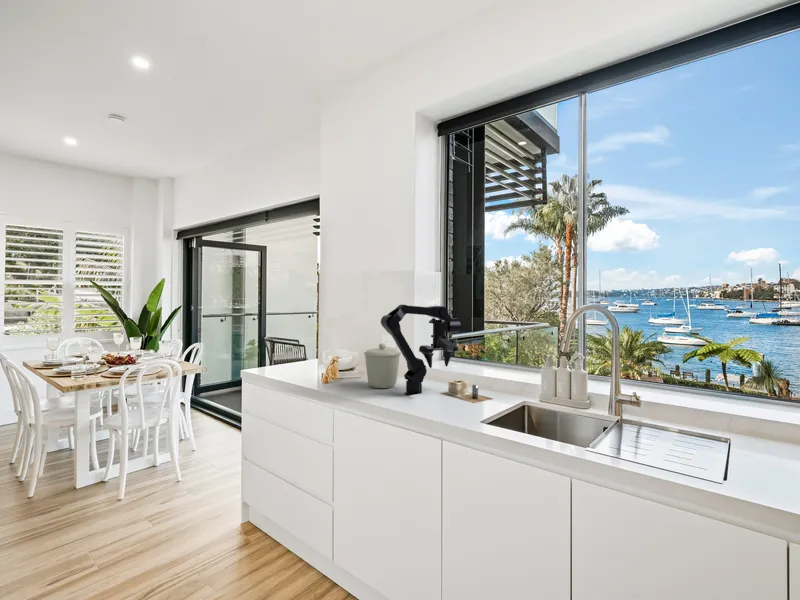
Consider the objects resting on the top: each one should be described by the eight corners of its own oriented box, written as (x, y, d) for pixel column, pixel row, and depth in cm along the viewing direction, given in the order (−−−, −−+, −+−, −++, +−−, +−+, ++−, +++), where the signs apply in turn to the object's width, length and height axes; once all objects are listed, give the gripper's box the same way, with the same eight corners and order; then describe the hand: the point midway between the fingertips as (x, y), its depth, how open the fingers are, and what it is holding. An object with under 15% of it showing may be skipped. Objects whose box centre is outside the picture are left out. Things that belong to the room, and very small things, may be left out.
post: (475, 399, 175) (475, 386, 175) (471, 398, 177) (471, 385, 177) (479, 398, 176) (479, 385, 176) (475, 397, 178) (475, 384, 178)
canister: (388, 392, 193) (388, 346, 193) (356, 387, 202) (356, 343, 202) (407, 385, 209) (407, 342, 208) (376, 381, 218) (376, 340, 217)
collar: (458, 395, 180) (458, 383, 180) (448, 392, 185) (448, 381, 185) (467, 393, 184) (468, 382, 184) (458, 390, 189) (458, 379, 189)
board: (473, 406, 169) (474, 402, 169) (440, 396, 185) (440, 392, 185) (493, 402, 176) (494, 398, 176) (459, 393, 192) (459, 389, 192)
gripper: (433, 335, 182) (433, 371, 182) (466, 333, 192) (465, 368, 192) (418, 333, 191) (418, 367, 192) (450, 331, 202) (449, 364, 202)
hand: (438, 367), depth 194 cm, fingers open, 9 cm apart
